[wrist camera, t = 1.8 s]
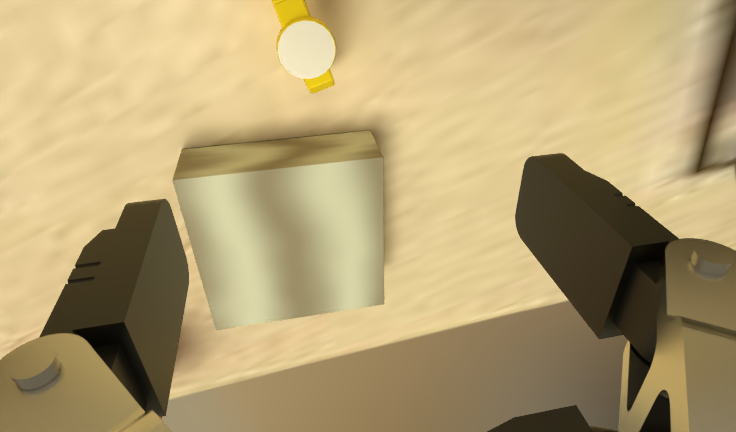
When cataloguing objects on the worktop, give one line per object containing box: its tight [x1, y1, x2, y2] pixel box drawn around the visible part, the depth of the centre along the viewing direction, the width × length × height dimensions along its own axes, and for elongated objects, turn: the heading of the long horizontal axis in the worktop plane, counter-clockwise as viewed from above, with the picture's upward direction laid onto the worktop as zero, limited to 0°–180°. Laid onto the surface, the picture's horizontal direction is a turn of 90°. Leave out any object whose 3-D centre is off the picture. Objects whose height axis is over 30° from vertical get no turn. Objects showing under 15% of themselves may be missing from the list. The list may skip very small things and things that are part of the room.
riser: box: [173, 130, 384, 330], centre depth 32 cm, size 12×12×4 cm
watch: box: [272, 0, 336, 93], centre depth 25 cm, size 6×3×6 cm, turn 18°
